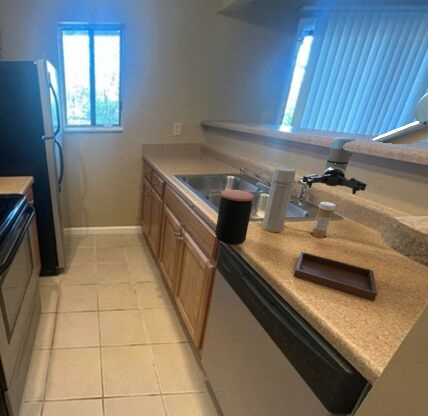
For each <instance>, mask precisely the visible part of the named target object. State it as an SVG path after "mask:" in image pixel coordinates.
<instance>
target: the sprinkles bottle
mask: <svg viewBox="0 0 428 416" xmlns="http://www.w3.org/2000/svg"><path fill="white" fill-rule="evenodd" d="M335 210H336V204H335V203H333V202H331V201H321V202H319V206H318V211H317V214H316V216H315V221H314V223H313V228H312V232H310V233H311V236H312V237H314V238H318V239H325V238H326V237H327V232H328V230H329V227H330V224H331V221H332V216H333V213H334V211H335Z"/></svg>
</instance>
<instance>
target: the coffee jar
mask: <svg viewBox="0 0 428 416" xmlns="http://www.w3.org/2000/svg"><path fill="white" fill-rule="evenodd" d="M220 195H221V197H220V199H219V206H218V212H217V218H216V219H217V220H216V226H215V232H214V234H215V237H216V238H217V240H218V241H220V242H222V243H225V244H229V245H240V244H242V243H244V242H245V241H246V239H247V234H248V229H249V223H250V218H251V214H252V208H253V200H254V197H255V195H254V194H253V193H252V192H249V191H247V190H241V189H226V190H222V191H221V193H220Z"/></svg>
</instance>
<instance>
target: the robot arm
mask: <svg viewBox="0 0 428 416" xmlns="http://www.w3.org/2000/svg"><path fill="white" fill-rule="evenodd" d="M413 115H414V119H415V120H416V121H413V122H412V123H409V124H407V125H405V126H401V127H398V128H396V129H393V130H391V131H389V132H387V133H384V134H381V135H379V136H377V137H375V138H372V139H371V140H373V141H377V142H383V143H392V144H409V145H412V144H415V143H418V142H421V141H423V140H427V139H428V92H426V93H425V94H424V95H423V96H422V97H421V98H420V99H419V100H418V102H417V104H416V107H415V108H414V112H413ZM351 141H355V142H356V139H355V138H353V137H335V138H334V139H333V141H332V143H331V146H330V150H329V153H328V157H327V161H326V165H325V167H324V169H323V174H322V175H319V174H318V173H313V174H309V175H304V176H302V181H301V182H302V183H306V186H308V189H311V188H312V185H313V184H318V183H319V184H325V185H326V186H328V187H338V186H339V187H346V188H350V189H351V190H352V191H351V193H352V195H356V193H357V192H360V191H364V192H365V190H366V188H367V185H368V184H367V183H365V182H363V181H361V180H358V179H356V178H354V177H351V178H349V179H348V178H347V177H346V171H347V167H348V164H349V161H350V160H351V159H350V157H351V156H352V154H353V153H351V152H349V151H346V150H344V149H343V145H344V144H345V143H347V142H351ZM335 163H336V164H335Z"/></svg>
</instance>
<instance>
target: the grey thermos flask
mask: <svg viewBox="0 0 428 416" xmlns="http://www.w3.org/2000/svg"><path fill="white" fill-rule="evenodd" d="M296 172H297V171H296V169H295V168H290V167H281V166H279V167H275V168H274V171H273V173H272V177H271V179H270V182H271V183H270V187H269V193H268V197H267V201H266V207H265V212H264V216H263V219H262V220H263V221H262V228H263V229H264V230H265V231H267V232H271V233H280V232H281V231H283V230H284V226H285V223H286V222H285V221H286V218H287V217H286V216H287V213H288V209H289V206H290V202H291V201H290V200H291V197H292V193H293V189H294V185H296V182H295V179H296Z"/></svg>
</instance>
